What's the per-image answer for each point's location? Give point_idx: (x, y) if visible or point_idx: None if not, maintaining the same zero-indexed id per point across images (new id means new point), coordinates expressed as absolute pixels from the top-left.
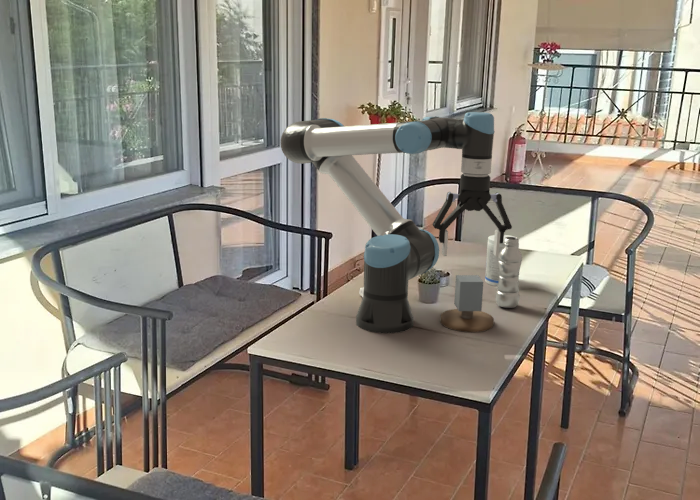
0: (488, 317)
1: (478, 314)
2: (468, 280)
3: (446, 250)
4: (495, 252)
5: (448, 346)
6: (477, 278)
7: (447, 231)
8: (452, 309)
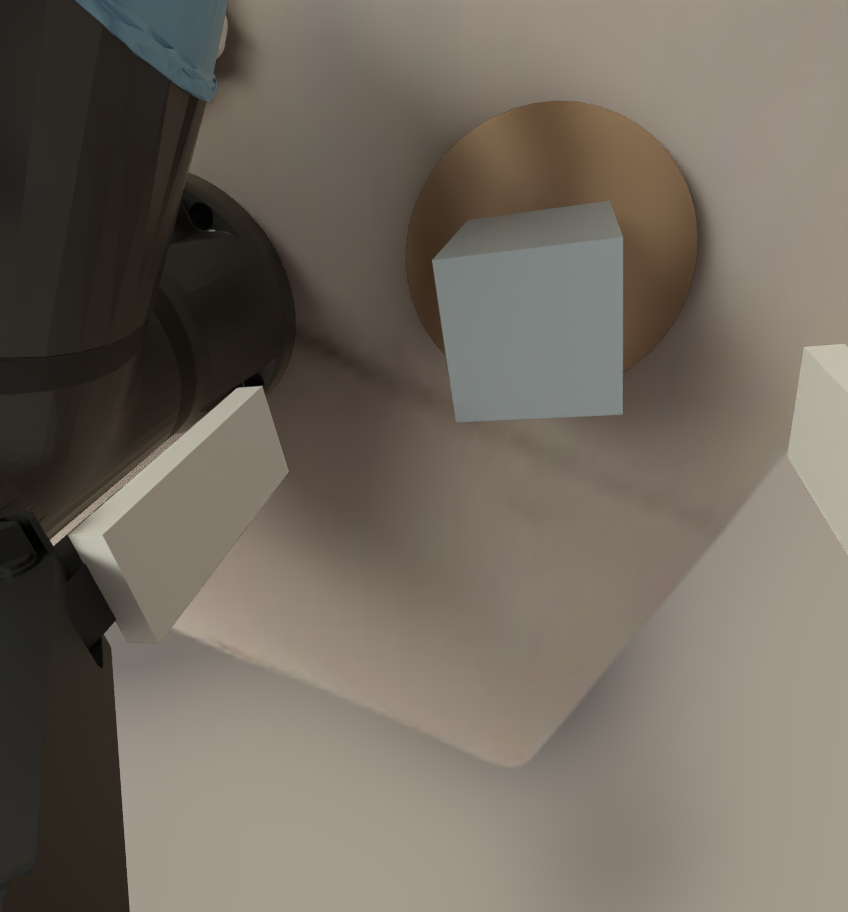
0: (668, 255)
1: (620, 206)
2: (515, 389)
3: (261, 502)
4: (804, 458)
5: (439, 523)
6: (595, 335)
7: (148, 634)
8: (475, 130)
